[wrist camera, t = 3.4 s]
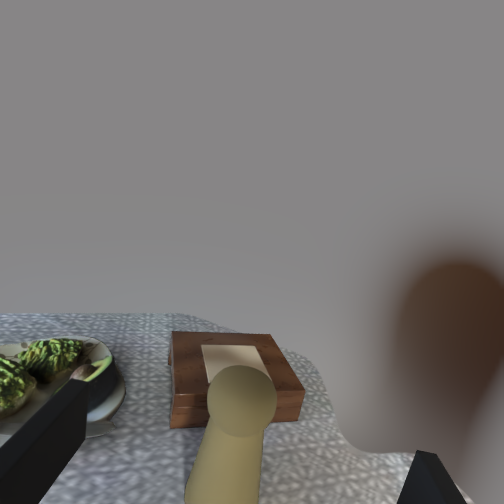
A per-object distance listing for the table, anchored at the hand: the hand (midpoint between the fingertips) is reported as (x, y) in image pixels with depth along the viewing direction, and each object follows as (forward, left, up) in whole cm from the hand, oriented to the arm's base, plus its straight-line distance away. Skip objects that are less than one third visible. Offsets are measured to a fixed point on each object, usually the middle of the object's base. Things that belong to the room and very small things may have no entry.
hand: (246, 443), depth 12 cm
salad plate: (+21, +14, -15) cm, 29 cm away
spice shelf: (+22, -6, -15) cm, 27 cm away
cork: (+9, -3, -15) cm, 18 cm away
